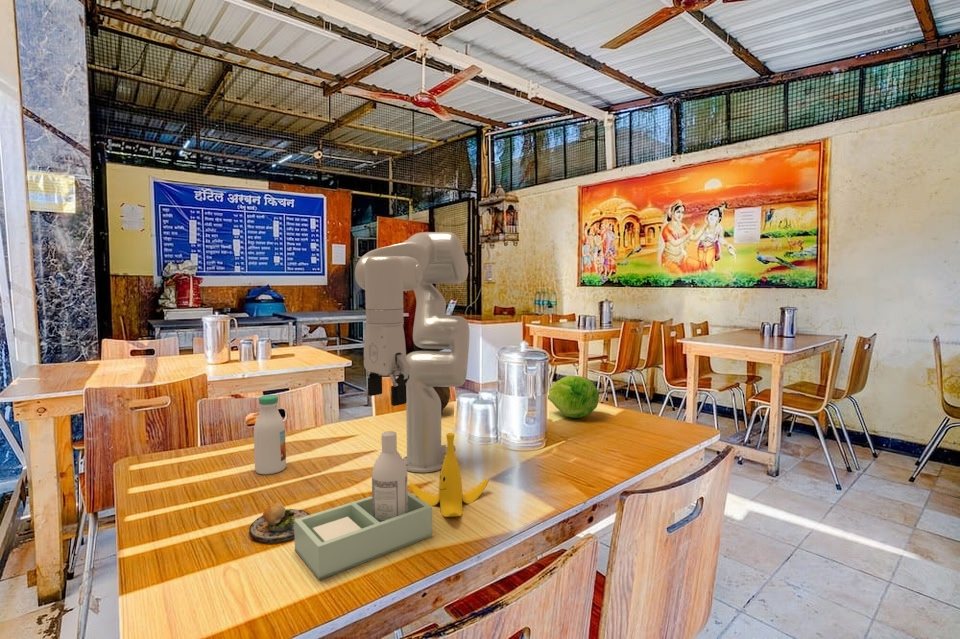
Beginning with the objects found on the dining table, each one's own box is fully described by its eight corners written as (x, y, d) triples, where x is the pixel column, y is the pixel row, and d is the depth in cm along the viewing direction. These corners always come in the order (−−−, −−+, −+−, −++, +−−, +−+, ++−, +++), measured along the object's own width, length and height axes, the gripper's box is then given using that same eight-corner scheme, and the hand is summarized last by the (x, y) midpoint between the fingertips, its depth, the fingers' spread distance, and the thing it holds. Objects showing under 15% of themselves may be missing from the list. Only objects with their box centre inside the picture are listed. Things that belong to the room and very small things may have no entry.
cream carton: (348, 536, 96) (347, 516, 96) (364, 551, 90) (363, 530, 90) (312, 548, 91) (312, 528, 91) (327, 565, 86) (327, 543, 86)
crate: (401, 513, 106) (401, 487, 106) (432, 536, 97) (432, 506, 97) (294, 550, 92) (294, 519, 91) (319, 580, 83) (318, 546, 82)
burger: (317, 535, 98) (316, 500, 97) (253, 554, 92) (251, 516, 91) (303, 510, 108) (302, 478, 107) (245, 526, 102) (243, 491, 101)
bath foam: (392, 518, 103) (390, 425, 101) (415, 528, 99) (414, 432, 97) (365, 531, 98) (363, 434, 96) (388, 543, 93) (387, 441, 92)
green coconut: (558, 408, 195) (558, 369, 194) (606, 416, 184) (607, 375, 182) (537, 417, 181) (537, 376, 180) (588, 427, 170) (589, 382, 168)
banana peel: (452, 529, 100) (452, 450, 99) (407, 497, 115) (406, 427, 114) (513, 507, 110) (513, 434, 109) (464, 479, 125) (464, 416, 124)
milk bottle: (274, 476, 126) (272, 400, 125) (248, 473, 128) (245, 399, 126) (291, 465, 134) (289, 393, 132) (266, 463, 136) (264, 392, 134)
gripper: (348, 315, 103) (351, 394, 105) (390, 322, 90) (392, 412, 92) (380, 313, 108) (382, 388, 110) (424, 319, 95) (425, 405, 97)
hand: (386, 399), depth 101 cm, fingers open, 9 cm apart
